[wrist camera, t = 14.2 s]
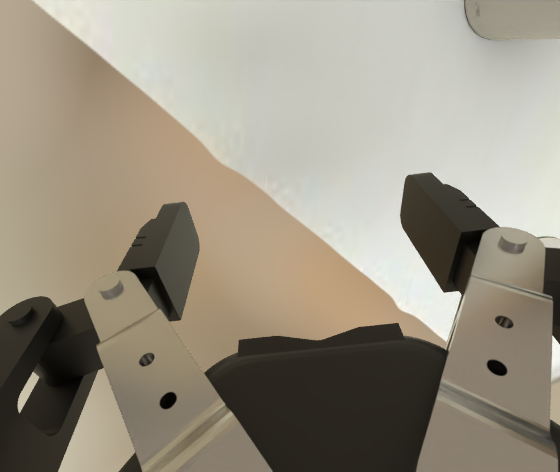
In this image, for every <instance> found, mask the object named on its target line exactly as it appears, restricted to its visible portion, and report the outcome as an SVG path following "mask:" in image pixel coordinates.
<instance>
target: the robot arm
mask: <svg viewBox="0 0 560 472" xmlns="http://www.w3.org/2000/svg"><path fill="white" fill-rule="evenodd" d="M465 8H466V15H467V18H468V21H469V24H470V26H471V27H472V28H473V30H474V31H475V32H476V33H477V34H478V35H480V36H481V37H483V38H486V39H490V40H509V39H552V38H560V0H465ZM400 218H401V224H402V227H403V229H404V231H405V232H406V234H407V236H408V237H409V239H410V240H411V242H412V243H413V245H414V247H415V248H416V250H417V251H418V253H419V254H420V256H421V258H422V259H423V261H424V262H425V264H426V265H427V267H428V269H429V270H430V272H431V273H432V275H433V276H434V278H435V280H436V281H437V283H438V284H439V286H440V288H441V289H442V291H443V292H453V291H459V292H460V293H461V295H462V296H461V299H460V302H459V305H458V308H457V311H456V315H455V318H454V321H453V325H452V328H451V331H450V334H449V338H448V341H447V344H446V348H445V349H443V348H441V347H440V346H437V345H435V344H433V343H430V342H428V341H425V340H422V339H418V338H414V337H409V336H403V333H402V332H401V329H400V326H399V324H398V323H393V324H384V325H375V326H365V327H358V328H355V329H352V330H349V331H346V332H343V333H341V334H338V335H335V336H332V337H329V338H326V339H323V340H318V341H317V340H308V339H300V338H291V337H283V336H271V337H261V338H252V339H243V340H239V346H238V353H235V354H233V355H231V356H228V357H226V358H224V359H223V360H221V361H219V362H218V363H216V364H215V365H213V366H212V367H211V368H209V369H208V370H207V371H206V372H205V373H203V371H202V370H201V368H200V367H199V365H198V364H197V362H196V361H195V359H194V358H193V356H192V355H191V353H190V352H189V350H188V349H187V347H186V346H185V344H184V343H183V342H182V340H181V339H180V337H179V336H178V334H177V333H176V331H175V330H174V328H173V327H172V325H171V324H170V322H169V321H178V320H181V317H182V314H183V310H184V306H185V303H186V299H187V295H188V291H189V288H190V284H191V280H192V276H193V273H194V269H195V265H196V261H197V258H198V254H199V239H198V235H197V232H196V229H195V226H194V223H193V220H192V217H191V215H190V211H189V208H188V206H187V204H186V203H185V202H180V203H171V204H164V205H163V206H162V208H161V209H160V211H159V213H158V215H157V217H156V219H151V220H150V221H149V222H148V223H146V224H145V225H144V226H143V227H142V228H141V229H140V231H139V233H138V235H137V236H136V239H135V240H134V242H133V243H132V247H130V249H129V251H128V252H127V254H126V256H125V258H124V259H123V261H122V263H121V265H120V266H119V268H118V270H117V271H116V272H113V273H110V274H107V275H105V276H103V277H101V278H100V279H98V280H97V281H95V282H94V283H93V284H92V285H91V286H90V287H89V288H88V289H87V291H86V293H85V296H84V298H83V299H80V300H77V301H74V302H71V303H68V304H65V305H62V306H59V307H56V305H55V304H54V303H53V302H52V301H51V299H49V298H48V297H42V296H40V297H34V298H30V299H27V300H25V301H22V302H20V303H18V304H16V305H15V306H13V307H11V308H10V309H8V310H7V311H6V312H4V313H3V314H2V315H1V316H0V472H58V470H59V467H60V465H61V462H62V460H63V457H64V455H65V452H66V450H67V447H68V445H69V442H70V440H71V437H72V435H73V432H74V430H75V427H76V425H77V422H78V420H79V417H80V415H81V412H82V410H83V407H84V405H85V402H86V400H87V397H88V395H89V392H90V390H91V387H92V385H93V382H94V380H95V377H96V374H97V372H98V370H100V369H102V368H104V369H105V372H106V375H107V377H108V380H109V382H110V385H111V388H112V391H113V393H114V396H115V399H116V401H117V404H118V406H119V409H120V412H121V415H122V417H123V420H124V422H125V425H126V428H127V430H128V433H129V436H130V439H131V441H132V444H133V447H134V449H135V453H134V454H133V456H132V457H131V458H130V459H129V460H128V461H127V463H126V464H125V465H124V466H123V467H122V468H121V470H120V471H119V472H560V426H559V425H558V424H556V423H555V422H554V421H552V420H550V397H551V361H552V335H553V336H554V338H555V339H556V340H557V341H558V342H559V344H560V248H548V247H545V246H544V244H543V243H542V241H541V240H539V239H538V238H537V237H535V236H534V235H532V234H530V233H528V232H525V231H522V230H519V229H515V228H508V227H499V226H498V225H497V224H496V223H495V222H494V221H493V220H492V219H491V218H490V217H488V216H487V215H486V214H485V213H484V212H483V211H482V210H481V209H480V208H479V207H476V205H475V204H474V203H473V202H472V201H471V200H469V198H468V197H467V196H466V195H465V194H464V193H462V192H461V191H460V190H458V189H456V188H454V187H452V186H450V185H447V184H444V185H443V184H442V183H441V182H440V181H439V180H438V179H437V178H436V177H435V176H434V175H433V174H432V173H430V172H429V173H421V174H412V175H408V176H407V177H406V179H405V184H404V191H403V198H402V205H401V213H400ZM32 372H34V373H36V374H37V375H38V376H39V377H40V378H39V380H38V382H37V383H36V385H35V387H34V389H33V390H32V392H31V394H30V396H29V398H28V400H27V401H26V403H25V405H24V407H23V409H22V410H21V412H20V414H19V412H18V408H17V404H18V398H19V395H20V393H21V391H22V390H23V388H24V386H25V384H26V383H27V381H28V379H29V377H30V376H31V374H32Z"/></svg>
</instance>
